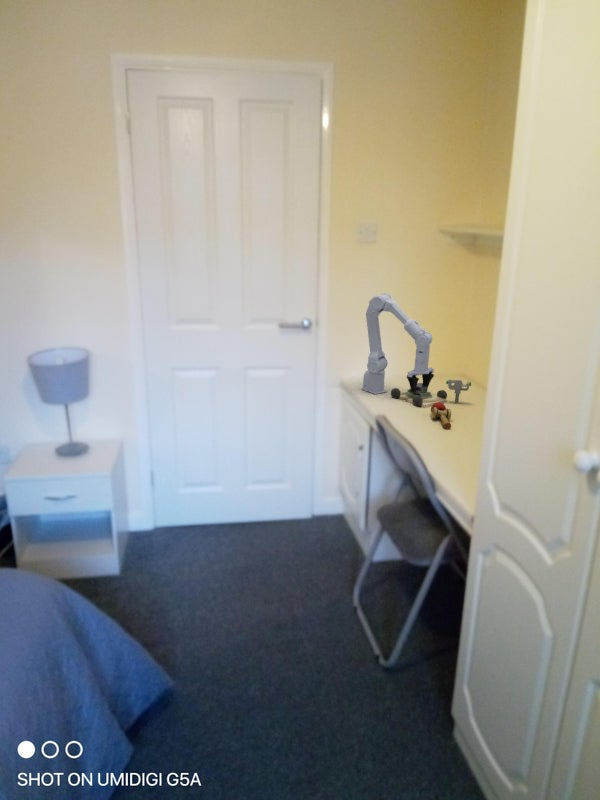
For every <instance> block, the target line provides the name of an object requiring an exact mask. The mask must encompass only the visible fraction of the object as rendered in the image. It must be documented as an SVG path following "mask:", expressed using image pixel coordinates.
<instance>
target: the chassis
mask: <svg viewBox="0 0 600 800" xmlns="http://www.w3.org/2000/svg"><path fill="white" fill-rule="evenodd" d="M417 384H421V385H423V382H420V383H417ZM390 396H391V397H392V398H393V399H399V400H401V399H402V401H404V400H405V401H404V402H407V401H408V403H410V402H411V403H410V404H413V406H414V407H422V408H423V409H425V408H429V407H430V408H431V407H432V405H433V404H434V403H437V402H440V403H443V404H445V402H446V403H447V402H448V401H447V398H448V393H447V391H446V390H444V389H441V390H438V391H437V392H436V395H433V394H432V393H431V392H430V391H427V392H426V393H422V394H420V396H418V395H416V394H413V393H412V392H411V389H410V388H409V389H405V390H400V389H399V388H398V387H397V388H396V387H395V388H392V389H391V390H390Z"/></svg>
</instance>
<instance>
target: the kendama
mask: <svg viewBox="0 0 600 800" xmlns="http://www.w3.org/2000/svg"><path fill="white" fill-rule="evenodd" d="M430 413H431V418H432V419H436V418H440V421H441V424H442V426H443V428H444V429H445V430H450V429H451V427H452V424H451V422H450V420H451V418H452V409H450V408H446V405H445V403H440V402H437V403H434V404H433V405H432V406H430Z"/></svg>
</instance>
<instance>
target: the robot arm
mask: <svg viewBox="0 0 600 800" xmlns="http://www.w3.org/2000/svg"><path fill="white" fill-rule="evenodd" d="M368 302H369V303H368V306H367V309H366V312H365V318H366V319H365V320H366V327H367V334H368V335H367V336H368V344H369V345H368V346H369V352H370V353H369V354H368V358H367V359H368V360H367V361H368V362H367V365H366V369H367V370H366V371H365V372H364V374H363V378H362V380H363V383H362V387H361V390H363V391H366V392H369V393H371V394H373V395H377V394H378V395H379V394H383V393H387V392H388V390H387V389H384V388H385V375H386V371H385V369H387V366H388V360H387V358H386V356H385V354H386V353H385V352H384V351H383V347H382V339H381V330H380V329H381V328H380V321H379V316H380V315H381V314H382V312H389V313H391V314H393V316H394V317H395V318H397V320H399V321H400V322H401V324H403V328H404V330H405V331H406V332H407V334H408V335H409V336H410V337H411V338H412V339H413V340H414V344H415V346H416V349H415V359H414V368H413V369H412V370H411V371H407V375H406V379H407V381H408V384H409V387H410V388H409V389H411V392H416V386H417V384H418V382H419V380H420V378H419V377H417V376H421V377H422V384H423V385H424V386H428V387H429V386H430V383H431V381H432V379H433V378H434V376H435V374H434V373H435V372H434V371H435V368H433V367H429V361H430V351H431V350H430V348H431V344H432V341H433V336H432V334H431V333H430V332H429V331H427V330H426V329H425V328H423V327H421V326H420V324H419V323H420V322H419V321H418V320H415V319H410V317H408V315H407V314H406V313H405V312H404V311H403V309H402V308H401V307H400V306H399V305H398V303H397V302H396V300H395V299H394V298H393V297H392V296H391V295H390V294H388V293H382V294H378V295H375V296H373V297H372V298H371V299H370V300H369V301H368Z"/></svg>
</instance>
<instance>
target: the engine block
mask: <svg viewBox="0 0 600 800" xmlns="http://www.w3.org/2000/svg"><path fill="white" fill-rule="evenodd" d="M428 388H429V386H424V385H421V384H418V383H417V386H416V392H412V393H413V394H416V395H418V396H420V394H422V393H426V392H428Z"/></svg>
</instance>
